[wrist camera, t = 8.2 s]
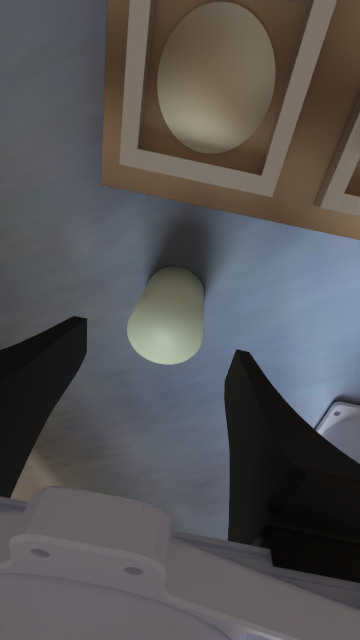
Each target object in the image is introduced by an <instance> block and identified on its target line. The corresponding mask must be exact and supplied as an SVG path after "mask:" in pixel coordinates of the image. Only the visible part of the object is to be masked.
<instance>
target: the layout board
mask: <svg viewBox="0 0 360 640" xmlns="http://www.w3.org/2000/svg"><path fill="white" fill-rule="evenodd" d="M101 185H105V186H110V187H115V188H119V189H124V190H129V191H133V192H138V193H143V194H147V195H152V196H157V197H161V198H166V199H171V200H175V201H180V202H185V203H189V204H194V205H199V206H203V207H208V208H213V209H217V210H222V211H227V212H231V213H236V214H241V215H245V216H250V217H255V218H259V219H264V220H269V221H273V222H278V223H283V224H287V225H292V226H297V227H301V228H306V229H311V230H315V231H320V232H325V233H329V234H334V235H339V236H343V237H348V238H353V239H357V240H360V0H107V29H106V58H105V87H104V116H103V145H102V173H101Z"/></svg>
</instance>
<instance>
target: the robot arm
mask: <svg viewBox="0 0 360 640" xmlns="http://www.w3.org/2000/svg"><path fill="white" fill-rule="evenodd" d="M86 353H87V319H86V318H81V317H76V316H73V317H71V318H69V319H67V320H65V321H63V322H61V323H60V324H58V325H56V326H54V327H52V328H50V329H48V330H46V331H44V332H42V333H40V334H38V335H36V336H33V337H31V338H29V339H27V340H25V341H22V342H20V343H18V344H15V345H13V346H10V347H8V348H5V349H2V350H0V640H360V406H359V405H355V404H350V403H345V402H335V403H334V404H333V405H332V406H331V407H330V409H329V410H328V412H327V413H326V415H325V416H324V418H323V419H322V421H321V422H320V424H319V425H318V427H317V428H316V430H315V429H313V428H312V427H311V426H310V425H309V424H308V423H307V422H306V421H305V420H303V419H302V418H301V417H300V416H299V415H298V414H297V413H296V412H295V411H294V410H293V408H292V407H291V406H290V405H289V404H288V403H287V402H286V401H285V400H284V399H283V398H282V396H281V395H280V394H279V393H278V391H277V390H276V389H275V388H274V387H273V385H272V384H271V383H270V381H269V380H268V379H267V377H266V376H265V374H264V373H263V372H262V370H261V369H260V367H259V366H258V364H257V363H256V361H255V360H254V359H253V357H252V356H251V354H250V353H249V352H246V351H242V350H237V349H236V352H235V354H234V357H233V360H232V363H231V366H230V368H229V371H228V374H227V377H226V379H225V393H224V401H225V411H226V420H227V429H228V438H229V450H230V498H229V528H228V541H226V540H220V539H215V538H210V537H205V536H200V535H195V534H190V533H184V532H179V531H174V530H172V525H171V519H170V517H169V516H168V515H167V514H166V513H165V512H164V511H162V510H161V509H160V508H159V507H157V506H154V505H151V504H148V503H145V502H142V501H137V500H131V499H126V498H121V497H116V496H111V495H106V494H101V493H96V492H91V491H86V490H80V489H75V488H70V487H62V486H49V487H46V488H43V489H41V490H38V491H36V492H35V493H34V494H33V496H32V498H31V500H30V502H25V501H20V500H15V499H10V497H11V495H12V492H13V490H14V488H15V485H16V483H17V481H18V479H19V476H20V474H21V472H22V470H23V468H24V466H25V463H26V461H27V459H28V457H29V455H30V453H31V451H32V449H33V447H34V445H35V443H36V440H37V438H38V436H39V434H40V432H41V430H42V429H43V427H44V425H45V423H46V421H47V419H48V417H49V415H50V413H51V412H52V410H53V408H54V407H55V405H56V404H57V402H58V401H59V399H60V398H61V396H62V395H63V393H64V392H65V390H66V389H67V387H68V386H69V384H70V383H71V381H72V379H73V378H74V376H75V375H76V373H77V372H78V370H79V368H80V366H81V364H82V362H83V360H84V357H85V355H86Z"/></svg>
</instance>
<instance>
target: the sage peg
mask: <svg viewBox="0 0 360 640" xmlns="http://www.w3.org/2000/svg"><path fill="white" fill-rule="evenodd" d="M203 315H204V288H203V285H202V283H201V281H200V280H199V278H198V277H197V276H196V275H195V274H194V273H192V272H191V271H189V270H187V269H185V268H181V267H166V268H163V269H161V270H159V271H157V272H156V273H155V274H154V275H153V276H152V277H151V278H150V280H149V281H148V283H147V285H146V287H145V289H144V291H143V293H142V295H141V297H140V299H139V301H138V303H137V305H136V307H135V309H134V311H133V313H132V315H131V317H130V319H129V321H128V326H127V333H128V338H129V341H130V343H131V345H132V346H133V348H134V349H135V350H136V351H137V352H138V353H139V354H140V355H141V356H143V357H144V358H146V359H148V360H150V361H152V362H155V363H159V364H177V363H181V362H184V361H186V360H188V359H189V358H191V357H192V356H193V355H194V354H195V353H196V352H197V351H198V349H199V348H200V346H201V343H202V338H203Z"/></svg>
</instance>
